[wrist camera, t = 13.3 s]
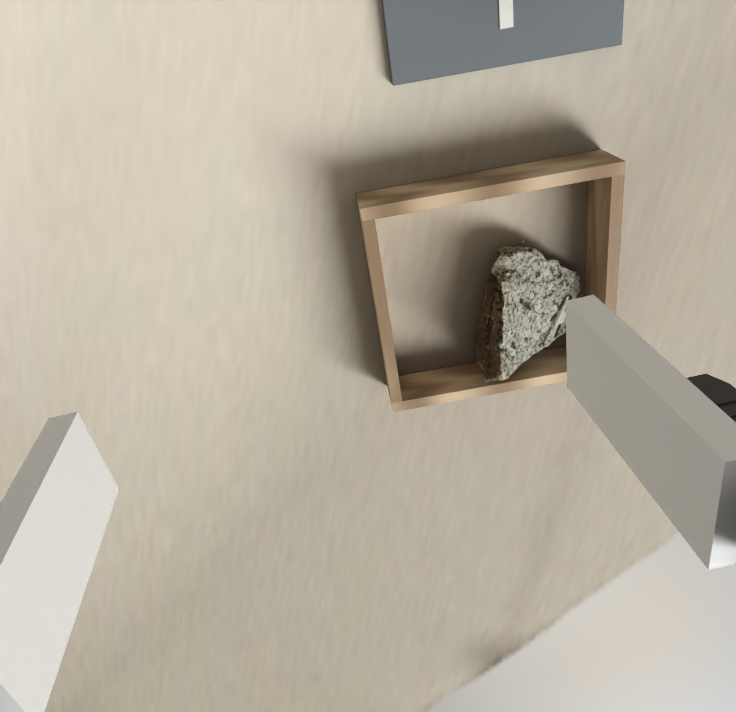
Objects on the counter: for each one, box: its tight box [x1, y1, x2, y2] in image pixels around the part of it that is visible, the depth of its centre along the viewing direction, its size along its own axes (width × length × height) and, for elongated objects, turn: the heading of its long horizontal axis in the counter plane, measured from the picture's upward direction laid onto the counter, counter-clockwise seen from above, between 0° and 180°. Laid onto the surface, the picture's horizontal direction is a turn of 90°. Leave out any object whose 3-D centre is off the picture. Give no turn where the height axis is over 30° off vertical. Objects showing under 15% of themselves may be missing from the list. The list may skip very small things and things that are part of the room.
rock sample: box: [475, 241, 580, 383], centre depth 44 cm, size 10×8×9 cm
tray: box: [356, 149, 626, 412], centre depth 43 cm, size 17×16×4 cm
